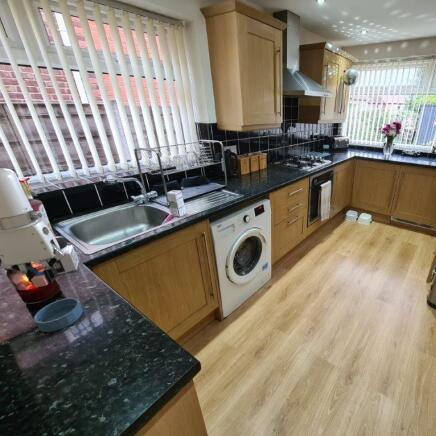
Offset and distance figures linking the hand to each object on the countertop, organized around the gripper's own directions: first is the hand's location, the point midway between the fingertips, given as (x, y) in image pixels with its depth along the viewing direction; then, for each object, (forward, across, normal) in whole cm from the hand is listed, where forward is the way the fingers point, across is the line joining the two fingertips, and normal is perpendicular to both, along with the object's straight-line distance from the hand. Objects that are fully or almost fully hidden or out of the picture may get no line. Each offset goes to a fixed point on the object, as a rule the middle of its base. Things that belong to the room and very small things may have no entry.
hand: (45, 280), depth 67 cm
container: (+14, +10, -31) cm, 36 cm away
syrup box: (+14, -30, -74) cm, 81 cm away
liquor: (+13, +28, -64) cm, 71 cm away
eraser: (0, 0, 0) cm, 0 cm away
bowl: (+14, 0, +1) cm, 14 cm away
